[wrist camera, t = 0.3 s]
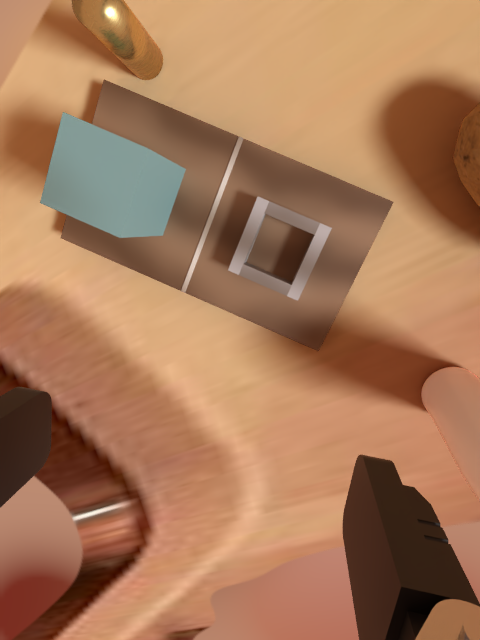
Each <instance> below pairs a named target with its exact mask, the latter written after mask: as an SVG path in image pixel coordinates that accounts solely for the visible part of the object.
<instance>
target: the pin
mask: <svg viewBox="0 0 480 640" xmlns="http://www.w3.org/2000/svg"><path fill="white" fill-rule="evenodd" d="M72 7H73V11H74V13H75V15H76V17H77V18H78V20H79V21H80V22H81V23H82V24H83V25H84V26H85V27H86V28H87V29H88V30H89V31H90V32H91V33H92V34H93V35H94V36H95V37H96V38H97V39H99V40H100V41H101V42H102V43H103V44H104V45H105V46H106V47H107V48H108V49H109V50H110V51H111V52H112V53H113V54H114V55H115V56H116V57H117V58H118V59H119V60H120V61H121V62H122V63H123V64H124V65H125V66H126V67H127V68H128V69H129V70H130V71H131V72H133V73H134V74H135V75H136V76H137V77H138V78H140V79H142V80H150V79H153V78H155V77H156V76H157V75H158V74H159V72H160V71H161V68H162V65H163V56H162V53H161V50H160V49H159V47H158V46H157V44H156V43H155V42H154V40H153V39H152V38H151V36H150V35H149V34H148V32H147V31H146V30H145V28H144V27H143V26H142V24H141V23H140V22H139V20H138V19H137V18H136V16H135V15H134V14H133V12H132V11H131V9H130V8H129V7H128V5H127V4H126V3H125V1H124V0H72Z"/></svg>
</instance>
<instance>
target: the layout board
mask: <svg viewBox="0 0 480 640" xmlns="http://www.w3.org/2000/svg"><path fill="white" fill-rule="evenodd" d="M92 125H95V126H97V127H99V128H102V129H104V130H106V131H109V132H111V133H113V134H116V135H118V136H120V137H123V138H125V139H127V140H130V141H132V142H134V143H137V144H139V145H141V146H144V147H146V148H148V149H150V150H152V151H154V152H156V153H157V154H159V155H161V156H163V157H165V158H166V159H168V160H170V161H172V162H174V163H176V164H177V165H179V166H181V167H183V168H185V169H186V170H185V173H184V176H183V179H182V182H181V185H180V188H179V190H178V193H177V196H176V199H175V202H174V205H173V208H172V211H171V214H170V216H169V219H168V222H167V225H166V228H165V231H164V234H163V236H147V237H128V238H119V237H117V236H115V235H112V234H110V233H108V232H105V231H103V230H101V229H99V228H96V227H94V226H92V225H89V224H87V223H85V222H83V221H80V220H78V219H76V218H73V217H71V216H69V215H67V216H66V220H65V224H64V227H63V231H62V235H61V238H62V239H64V240H66V241H69V242H71V243H73V244H75V245H78V246H80V247H82V248H85V249H87V250H89V251H91V252H94V253H96V254H98V255H101V256H103V257H105V258H107V259H110V260H112V261H114V262H116V263H119V264H121V265H123V266H126V267H128V268H130V269H132V270H135V271H137V272H139V273H141V274H144V275H146V276H148V277H151V278H153V279H155V280H157V281H160V282H162V283H164V284H167V285H169V286H171V287H173V288H176V289H178V290H180V291H182V292H184V293H187V294H189V295H192V296H194V297H196V298H198V299H201V300H203V301H205V302H208V303H210V304H212V305H214V306H217V307H219V308H221V309H223V310H226V311H228V312H230V313H233V314H235V315H237V316H239V317H242V318H244V319H246V320H248V321H251V322H253V323H255V324H258V325H260V326H262V327H264V328H267V329H269V330H271V331H274V332H276V333H278V334H280V335H283V336H285V337H287V338H289V339H292V340H294V341H296V342H299V343H301V344H303V345H305V346H308V347H310V348H312V349H315V350H317V351H319V349H320V347H321V345H322V343H323V341H324V339H325V337H326V335H327V333H328V331H329V329H330V327H331V325H332V324H333V322H334V320H335V318H336V316H337V314H338V312H339V310H340V308H341V306H342V304H343V302H344V300H345V298H346V296H347V294H348V292H349V290H350V288H351V286H352V284H353V282H354V280H355V278H356V276H357V274H358V272H359V270H360V268H361V266H362V264H363V262H364V260H365V258H366V256H367V254H368V252H369V250H370V248H371V246H372V244H373V242H374V240H375V238H376V236H377V234H378V232H379V230H380V228H381V226H382V224H383V222H384V220H385V218H386V216H387V214H388V212H389V210H390V208H391V206H392V204H393V202H392V201H390V200H387V199H385V198H382V197H380V196H378V195H375V194H373V193H371V192H368V191H366V190H364V189H361V188H359V187H357V186H354V185H352V184H349V183H347V182H345V181H342V180H340V179H338V178H335V177H333V176H331V175H328V174H326V173H323V172H321V171H319V170H316V169H314V168H312V167H309V166H307V165H305V164H302V163H300V162H297V161H295V160H293V159H290V158H288V157H286V156H283V155H281V154H279V153H276V152H274V151H271V150H269V149H267V148H264V147H262V146H260V145H257V144H255V143H253V142H250V141H248V140H246V139H243V138H241V137H238V136H236V135H234V134H231V133H229V132H227V131H224V130H222V129H220V128H217V127H215V126H212V125H210V124H208V123H205V122H203V121H201V120H198V119H196V118H194V117H191V116H189V115H186V114H184V113H182V112H179V111H177V110H175V109H172V108H170V107H168V106H165V105H163V104H161V103H158V102H156V101H153V100H151V99H149V98H146V97H144V96H142V95H139V94H137V93H135V92H132V91H130V90H127V89H125V88H123V87H120V86H118V85H116V84H113V83H111V82H109V81H106V80H104V81H103V85H102V89H101V92H100V96H99V100H98V103H97V107H96V111H95V114H94V118H93V122H92Z"/></svg>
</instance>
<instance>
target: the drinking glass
mask: <svg viewBox="0 0 480 640" xmlns="http://www.w3.org/2000/svg"><path fill="white" fill-rule="evenodd" d="M421 398H422V402H423V405H424V407H425V409H426V410H427V412H428V413H429V414H430V416H431V417H432V419H433V421H434V423H435V425H436V426H437V428H438V430H439V432H440V434H441V436H442V438H443V440H444V442H445V444H446V445H447V447H448V449H449V451H450V453H451V455H452V457H453V459H454V461H455V463H456V465H457V467H458V468H459V470H460V472H461V474H462V476H463V477H464V479H465V481H466V482H467V484H468V485H469V487H470V489H471V490H472V492H473V493H474V494H475V496H476V497H477V499H478V500H479V502H480V378H479V377H478V376H476V375H475V374H474V373H472V372H471V371H469V370H467V369H464V368H460V367H446V368H442V369H440V370H438V371H436V372H434V373H433V374H431V375H430V376H429V377H428V378H427V380H426V381H425V383H424V385H423V387H422V392H421Z"/></svg>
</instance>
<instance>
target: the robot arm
mask: <svg viewBox="0 0 480 640" xmlns="http://www.w3.org/2000/svg"><path fill="white" fill-rule="evenodd" d="M51 404H52V403H51V397H50V395H49V393H47V392H43V391H38V390H33V389H28V388H23V387H16V388H14V389H12V390H11V391H9V392H7V393H5V394H4V395H2V396H0V507H1V506H2V505H3V504H5V503H6V502H7V501H8V500H9V499H10V498H11V497H12V496H13V495H14V494H15V493H16V492H17V491H18V490H19V489H20V488H21V487H22V486H23V485H25V484H26V483H27V482H28V481H29V480H30V479H31V478H32V477H33V476H34V475H35V474H36V473H37V472H38V471H39V470H40V469H41V468H42V467H43V465H44V464H45V462H46V460H47V458H48V455H49V452H50V448H51ZM343 539H344V545H345V552H346V558H347V564H348V570H349V577H350V584H351V590H352V596H353V603H354V609H355V615H356V622H357V628H358V634H359V640H480V604H479V602H478V600H477V597H476V596H475V593H474V591H473V589H472V587H471V585H470V583H469V581H468V579H467V577H466V575H465V573H464V571H463V569H462V567H461V565H460V563H459V561H458V559H457V557H456V555H455V553H454V551H453V549H452V547H451V545H450V544H448V538H447V536H446V534H445V532H444V530H443V528H441V527H440V522H439V520H438V518H437V516H436V514H435V512H434V510H433V508H432V506H431V504H430V503H429V502H428V501H427V500H426V499H425V498H424V497H423V496H422V495H421V494H420V493H419V492H418V491H417V490H416V489H415V488H414V487H410V486H405V485H403V484H402V482H401V480H400V477H399V475H398V472H397V470H396V468H395V465H394V463H393V462H392V461H390V460H385V459H380V458H375V457H370V456H365V455H359V456H358V458H357V460H356V463H355V467H354V471H353V475H352V480H351V484H350V488H349V492H348V496H347V500H346V504H345V509H344V515H343Z"/></svg>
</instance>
